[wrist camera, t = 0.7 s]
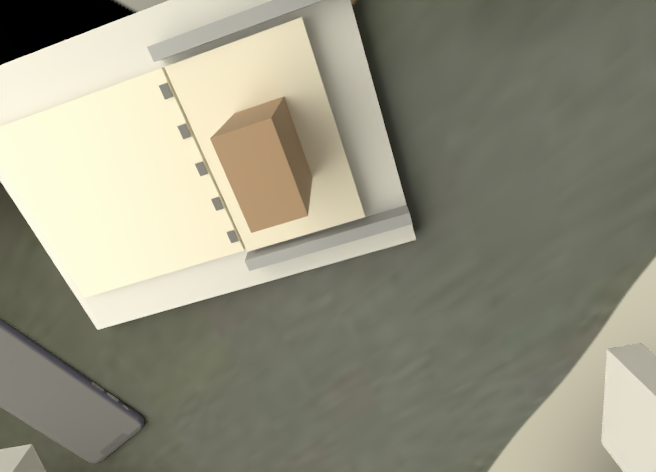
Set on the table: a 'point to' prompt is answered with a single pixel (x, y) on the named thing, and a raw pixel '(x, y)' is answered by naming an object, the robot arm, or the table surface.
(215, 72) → the tabbed cream panel
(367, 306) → the table surface
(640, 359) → the robot arm
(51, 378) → the smartphone
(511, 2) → the table surface
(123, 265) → the ticket board
